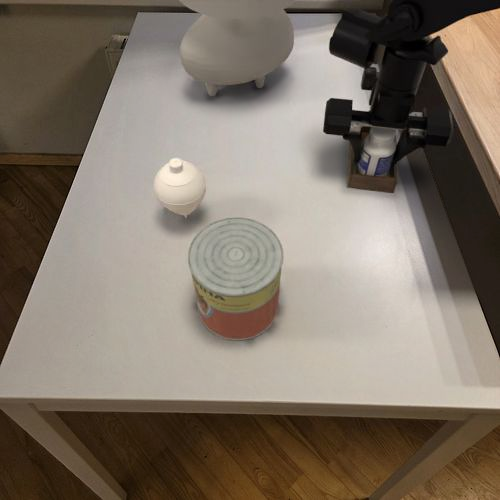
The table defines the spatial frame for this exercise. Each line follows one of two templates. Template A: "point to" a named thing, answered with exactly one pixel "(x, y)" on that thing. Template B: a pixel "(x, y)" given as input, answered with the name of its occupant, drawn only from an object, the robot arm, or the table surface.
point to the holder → (369, 180)
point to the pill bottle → (377, 152)
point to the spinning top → (180, 186)
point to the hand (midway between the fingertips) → (374, 162)
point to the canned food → (236, 277)
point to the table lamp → (236, 41)
